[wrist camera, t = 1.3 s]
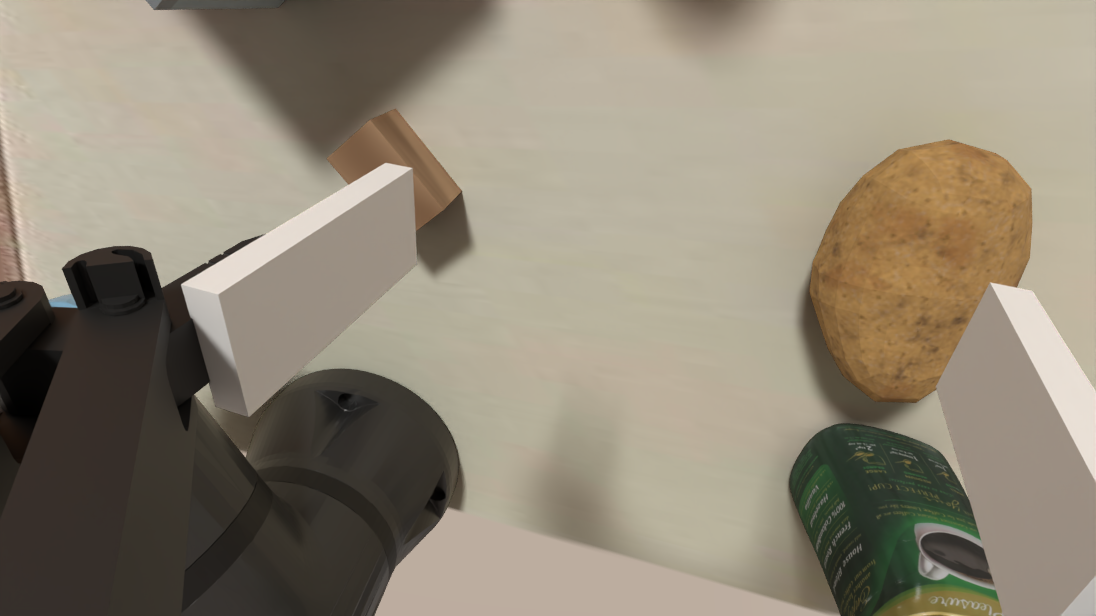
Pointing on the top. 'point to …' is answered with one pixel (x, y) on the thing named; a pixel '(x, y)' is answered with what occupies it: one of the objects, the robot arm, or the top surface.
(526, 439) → the top surface
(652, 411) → the top surface
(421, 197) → the block
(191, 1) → the box
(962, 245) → the potato
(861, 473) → the coffee jar
